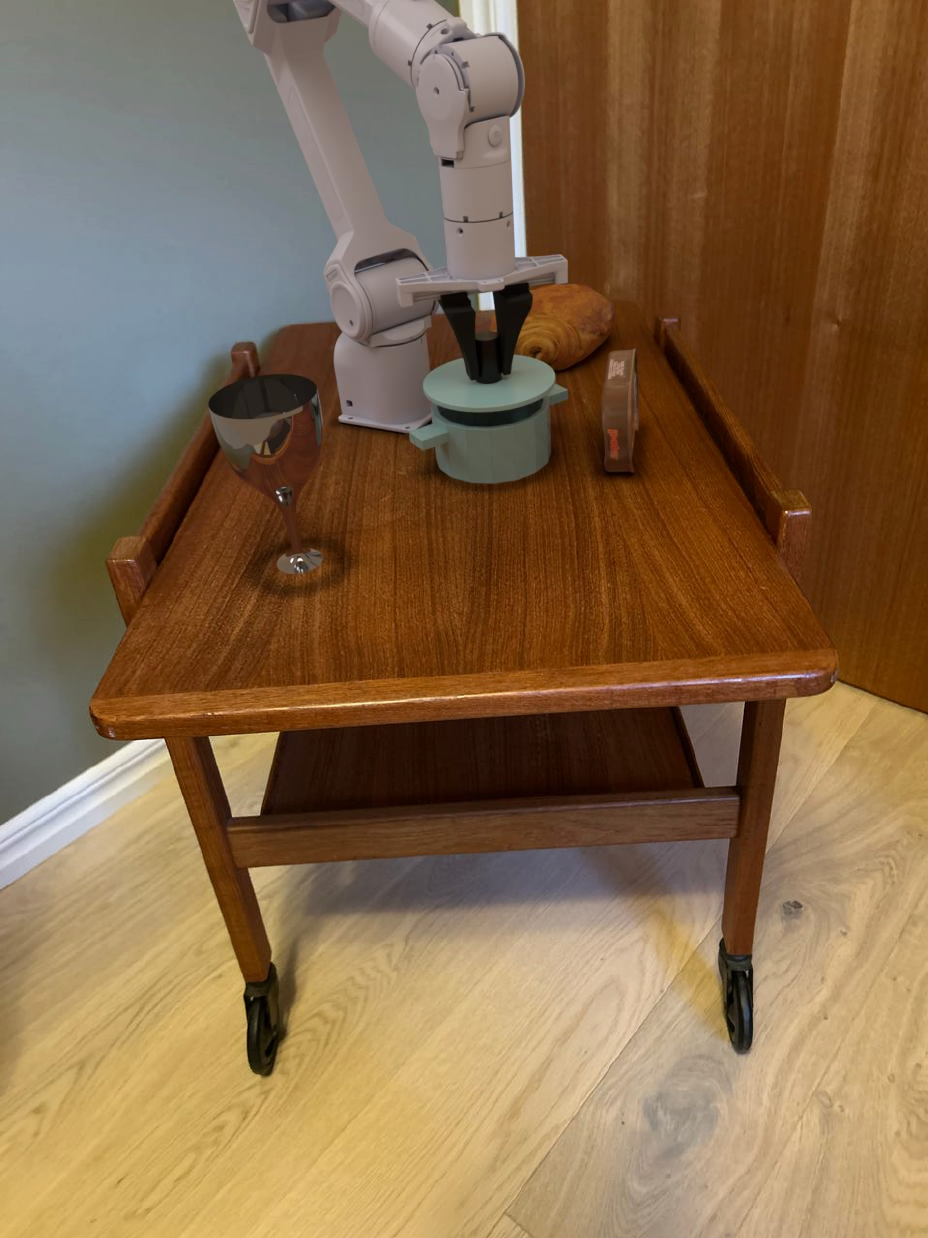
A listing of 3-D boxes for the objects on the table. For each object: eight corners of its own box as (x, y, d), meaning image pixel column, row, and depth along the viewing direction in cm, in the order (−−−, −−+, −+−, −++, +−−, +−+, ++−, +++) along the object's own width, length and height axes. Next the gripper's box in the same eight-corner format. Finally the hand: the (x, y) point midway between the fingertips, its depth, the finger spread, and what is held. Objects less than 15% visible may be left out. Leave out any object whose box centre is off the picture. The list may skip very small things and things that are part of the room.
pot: (393, 466, 88) (385, 409, 84) (529, 417, 94) (527, 362, 91) (452, 510, 80) (446, 450, 77) (595, 454, 87) (596, 396, 83)
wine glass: (307, 604, 71) (268, 427, 62) (232, 579, 74) (184, 408, 65) (367, 553, 76) (339, 382, 67) (295, 532, 80) (258, 367, 70)
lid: (400, 388, 85) (393, 334, 82) (506, 354, 90) (503, 302, 86) (469, 431, 77) (465, 374, 73) (582, 391, 81) (582, 335, 78)
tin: (633, 489, 81) (636, 401, 76) (597, 488, 82) (598, 400, 76) (640, 416, 93) (643, 334, 87) (608, 415, 93) (610, 334, 88)
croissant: (630, 351, 112) (638, 283, 107) (574, 381, 100) (580, 307, 96) (527, 333, 118) (530, 268, 114) (463, 360, 107) (464, 289, 103)
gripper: (398, 237, 70) (417, 403, 78) (579, 212, 72) (579, 377, 80) (384, 216, 75) (403, 373, 84) (553, 193, 77) (555, 349, 85)
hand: (488, 373), depth 82 cm, fingers closed on lid, 2 cm apart
